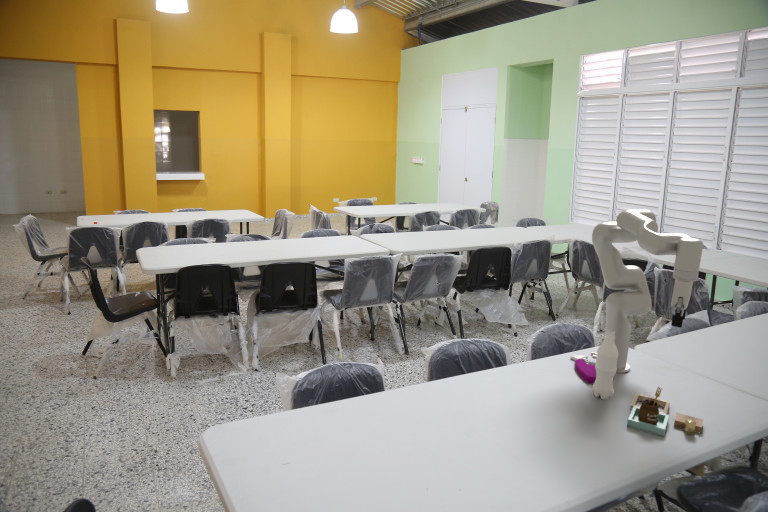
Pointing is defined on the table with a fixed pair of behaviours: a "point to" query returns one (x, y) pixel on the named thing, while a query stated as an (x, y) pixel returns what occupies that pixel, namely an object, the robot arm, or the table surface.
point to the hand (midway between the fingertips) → (678, 322)
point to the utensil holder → (649, 410)
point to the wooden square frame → (642, 397)
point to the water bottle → (606, 366)
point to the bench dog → (689, 427)
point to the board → (682, 418)
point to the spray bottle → (585, 369)
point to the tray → (643, 426)
